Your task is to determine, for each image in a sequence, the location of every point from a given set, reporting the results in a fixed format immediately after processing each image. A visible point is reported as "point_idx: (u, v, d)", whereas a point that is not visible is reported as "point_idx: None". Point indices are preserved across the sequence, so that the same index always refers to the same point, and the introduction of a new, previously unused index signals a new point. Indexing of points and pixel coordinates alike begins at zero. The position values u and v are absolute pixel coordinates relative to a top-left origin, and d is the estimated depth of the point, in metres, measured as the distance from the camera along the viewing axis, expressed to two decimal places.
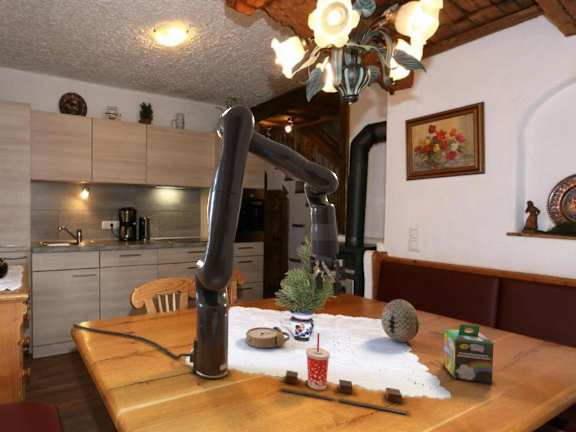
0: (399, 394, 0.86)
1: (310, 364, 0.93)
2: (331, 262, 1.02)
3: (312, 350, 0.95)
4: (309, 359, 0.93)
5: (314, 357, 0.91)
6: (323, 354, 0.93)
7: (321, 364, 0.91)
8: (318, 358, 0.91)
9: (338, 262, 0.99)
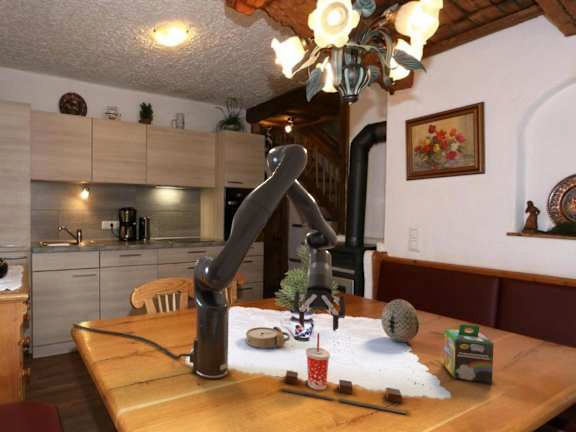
0: (399, 394, 0.86)
1: (310, 364, 0.93)
2: (333, 298, 1.04)
3: (312, 350, 0.95)
4: (309, 359, 0.93)
5: (314, 357, 0.91)
6: (323, 354, 0.93)
7: (321, 364, 0.91)
8: (318, 358, 0.91)
9: (343, 298, 1.04)
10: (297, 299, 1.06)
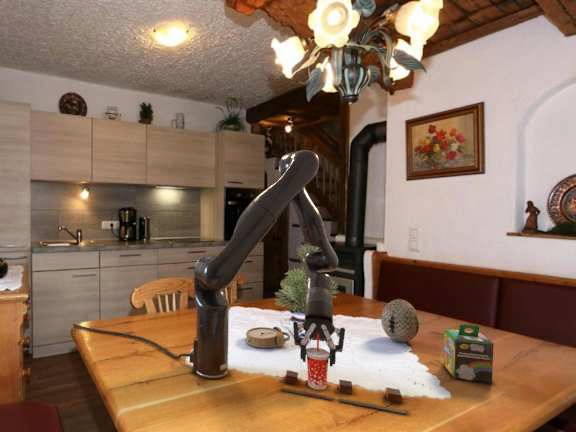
0: (399, 394, 0.86)
1: (310, 364, 0.93)
2: (333, 328, 0.97)
3: (312, 350, 0.95)
4: (309, 359, 0.93)
5: (314, 357, 0.91)
6: (323, 354, 0.93)
7: (320, 364, 0.91)
8: (318, 358, 0.91)
9: (344, 331, 0.96)
10: (296, 330, 0.98)
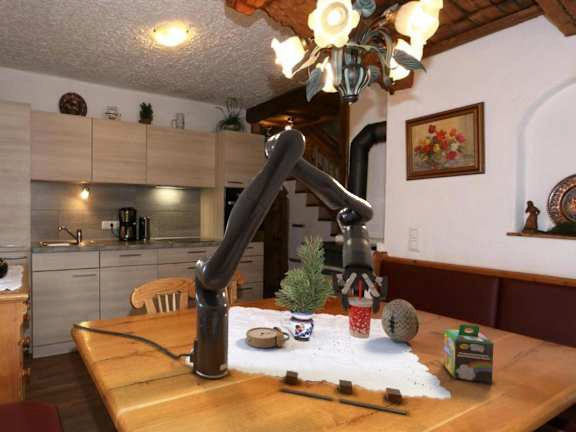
0: (399, 394, 0.86)
1: (352, 313, 0.89)
2: (375, 277, 0.93)
3: (353, 299, 0.92)
4: (351, 307, 0.89)
5: (357, 304, 0.88)
6: (366, 302, 0.89)
7: (364, 312, 0.88)
8: (362, 305, 0.87)
9: None
10: (336, 280, 0.95)
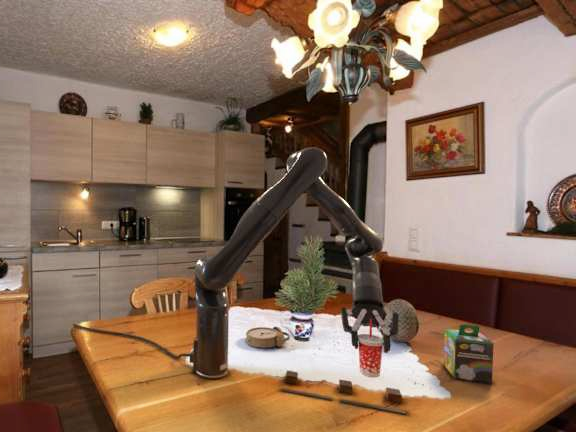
0: (399, 394, 0.86)
1: (363, 351, 0.88)
2: (385, 313, 0.92)
3: (364, 336, 0.91)
4: (362, 346, 0.89)
5: (368, 343, 0.87)
6: (377, 340, 0.88)
7: (375, 351, 0.87)
8: (372, 344, 0.87)
9: (397, 316, 0.91)
10: (346, 316, 0.94)
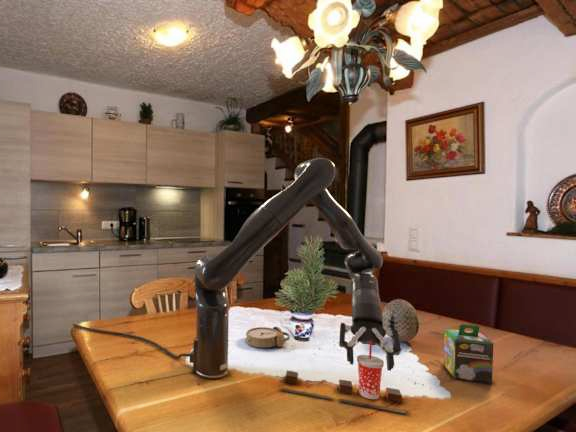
0: (399, 394, 0.86)
1: (362, 372, 0.89)
2: (385, 331, 0.92)
3: (363, 357, 0.91)
4: (361, 367, 0.89)
5: (368, 365, 0.87)
6: (376, 362, 0.89)
7: (375, 373, 0.87)
8: (372, 366, 0.87)
9: None
10: (343, 332, 0.95)
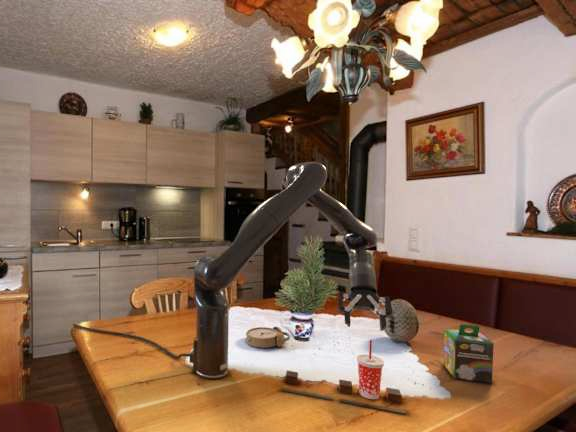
0: (399, 394, 0.86)
1: (362, 372, 0.89)
2: (378, 298, 1.04)
3: (363, 357, 0.91)
4: (361, 367, 0.89)
5: (368, 365, 0.87)
6: (376, 362, 0.89)
7: (375, 373, 0.87)
8: (372, 366, 0.87)
9: None
10: (341, 299, 1.06)
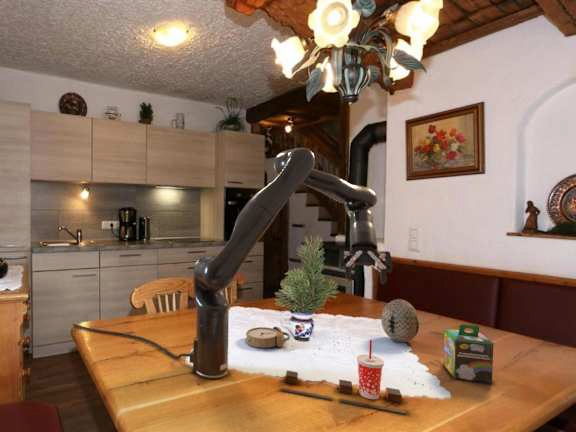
0: (399, 394, 0.86)
1: (362, 372, 0.89)
2: (379, 253, 1.05)
3: (363, 357, 0.91)
4: (361, 367, 0.89)
5: (368, 365, 0.87)
6: (376, 362, 0.89)
7: (375, 373, 0.87)
8: (372, 366, 0.87)
9: None
10: (342, 255, 1.07)
